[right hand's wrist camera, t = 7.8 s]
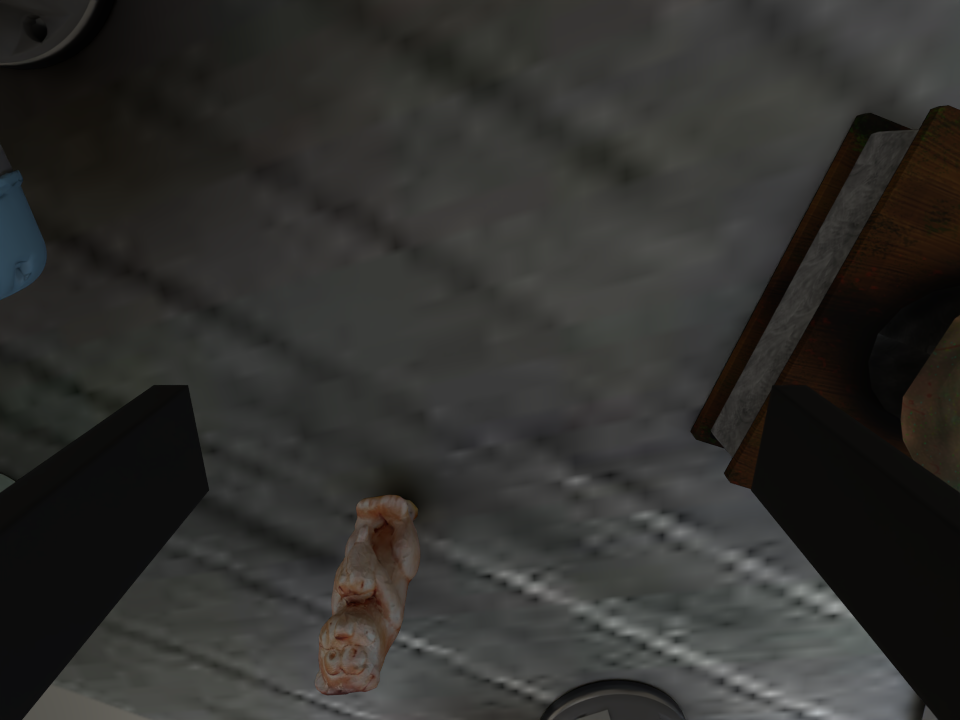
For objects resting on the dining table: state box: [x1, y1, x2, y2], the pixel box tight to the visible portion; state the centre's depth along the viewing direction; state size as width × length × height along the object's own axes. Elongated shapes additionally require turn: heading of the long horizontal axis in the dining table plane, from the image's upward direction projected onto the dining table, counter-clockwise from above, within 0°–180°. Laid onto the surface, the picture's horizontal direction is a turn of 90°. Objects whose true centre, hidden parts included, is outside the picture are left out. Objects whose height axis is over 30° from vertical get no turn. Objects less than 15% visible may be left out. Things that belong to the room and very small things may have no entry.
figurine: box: [315, 495, 420, 695], centre depth 39 cm, size 6×8×15 cm
